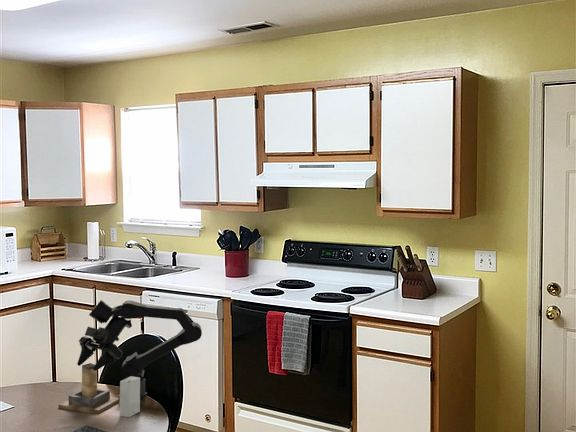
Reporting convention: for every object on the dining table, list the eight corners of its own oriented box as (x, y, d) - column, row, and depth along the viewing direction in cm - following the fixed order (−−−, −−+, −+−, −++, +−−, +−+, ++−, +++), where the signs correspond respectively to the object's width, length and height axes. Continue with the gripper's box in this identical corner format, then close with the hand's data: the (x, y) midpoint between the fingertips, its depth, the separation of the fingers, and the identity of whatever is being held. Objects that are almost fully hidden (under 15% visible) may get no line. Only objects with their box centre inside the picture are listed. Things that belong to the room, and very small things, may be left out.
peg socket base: (119, 401, 233) (119, 390, 233) (98, 413, 221) (98, 401, 220) (81, 396, 238) (81, 385, 238) (58, 408, 226) (58, 396, 225)
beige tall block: (90, 399, 232) (90, 363, 231) (96, 401, 230) (96, 364, 229) (82, 401, 229) (81, 365, 228) (88, 404, 227) (88, 367, 226)
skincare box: (129, 410, 225) (129, 375, 224) (140, 412, 223) (140, 377, 222) (118, 416, 219) (118, 380, 218) (130, 418, 217) (130, 382, 217)
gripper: (83, 314, 237) (56, 350, 228) (115, 321, 225) (88, 359, 217) (101, 331, 243) (75, 367, 235) (133, 340, 232) (107, 377, 224)
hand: (86, 367), depth 227 cm, fingers open, 9 cm apart
